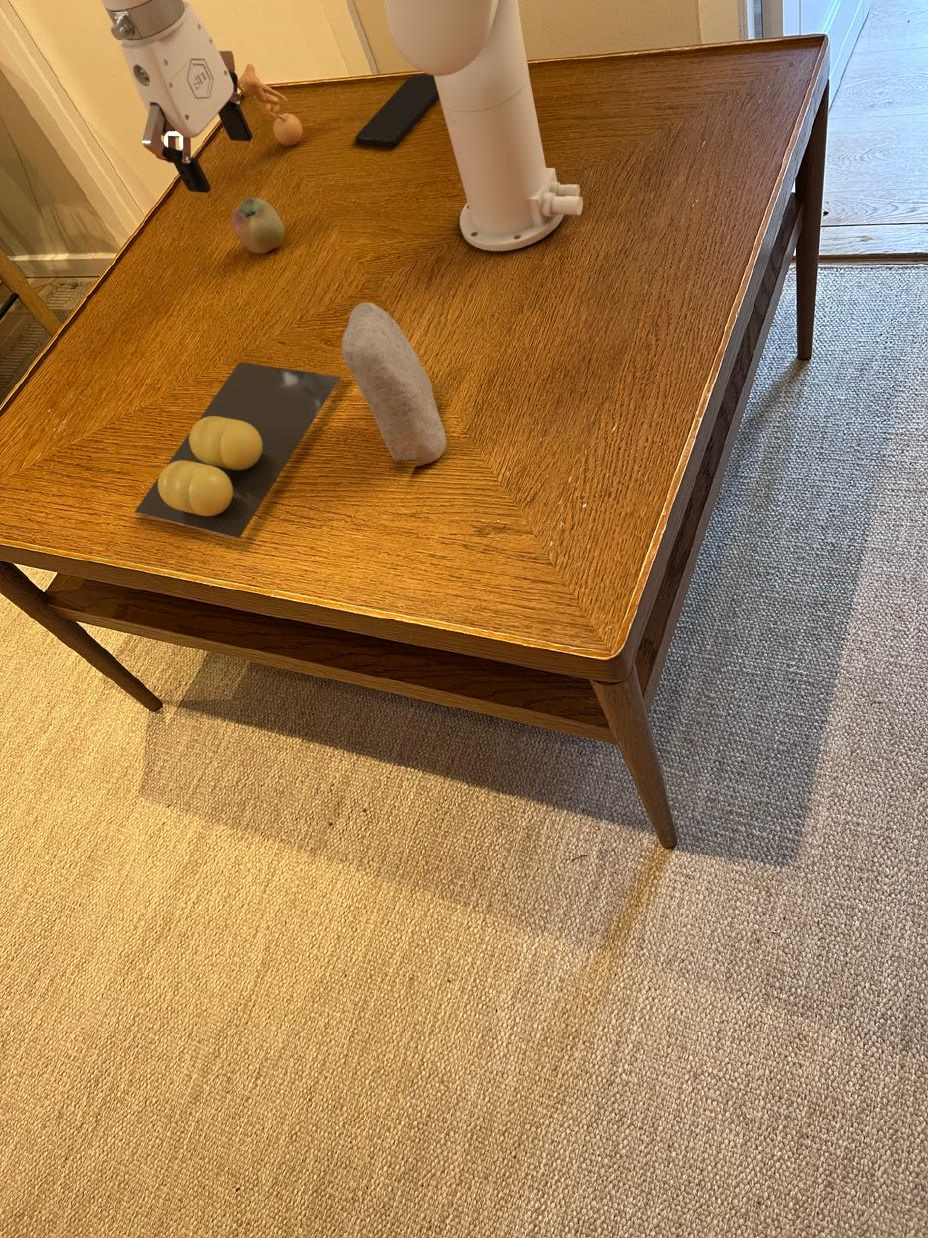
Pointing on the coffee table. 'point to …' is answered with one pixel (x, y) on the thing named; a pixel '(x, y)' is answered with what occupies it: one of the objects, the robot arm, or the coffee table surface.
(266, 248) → the apple
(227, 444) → the yellow lobed bun
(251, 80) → the figurine
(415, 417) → the decorative stone
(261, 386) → the serving board
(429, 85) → the smartphone
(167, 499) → the bread roll
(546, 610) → the coffee table surface
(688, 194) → the coffee table surface
